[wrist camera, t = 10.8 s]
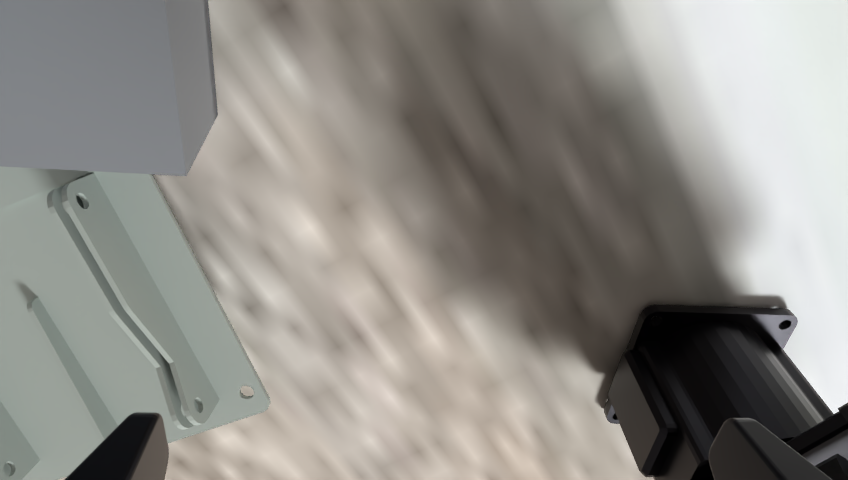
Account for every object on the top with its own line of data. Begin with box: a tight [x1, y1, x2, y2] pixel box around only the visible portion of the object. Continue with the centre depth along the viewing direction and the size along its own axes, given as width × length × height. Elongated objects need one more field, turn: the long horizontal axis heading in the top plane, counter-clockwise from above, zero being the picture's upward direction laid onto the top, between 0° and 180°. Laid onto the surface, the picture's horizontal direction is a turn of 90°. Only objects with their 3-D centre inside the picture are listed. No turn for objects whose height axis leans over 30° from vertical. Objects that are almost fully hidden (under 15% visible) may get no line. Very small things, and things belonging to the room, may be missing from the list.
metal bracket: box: [0, 166, 270, 480], centre depth 21 cm, size 14×6×15 cm
